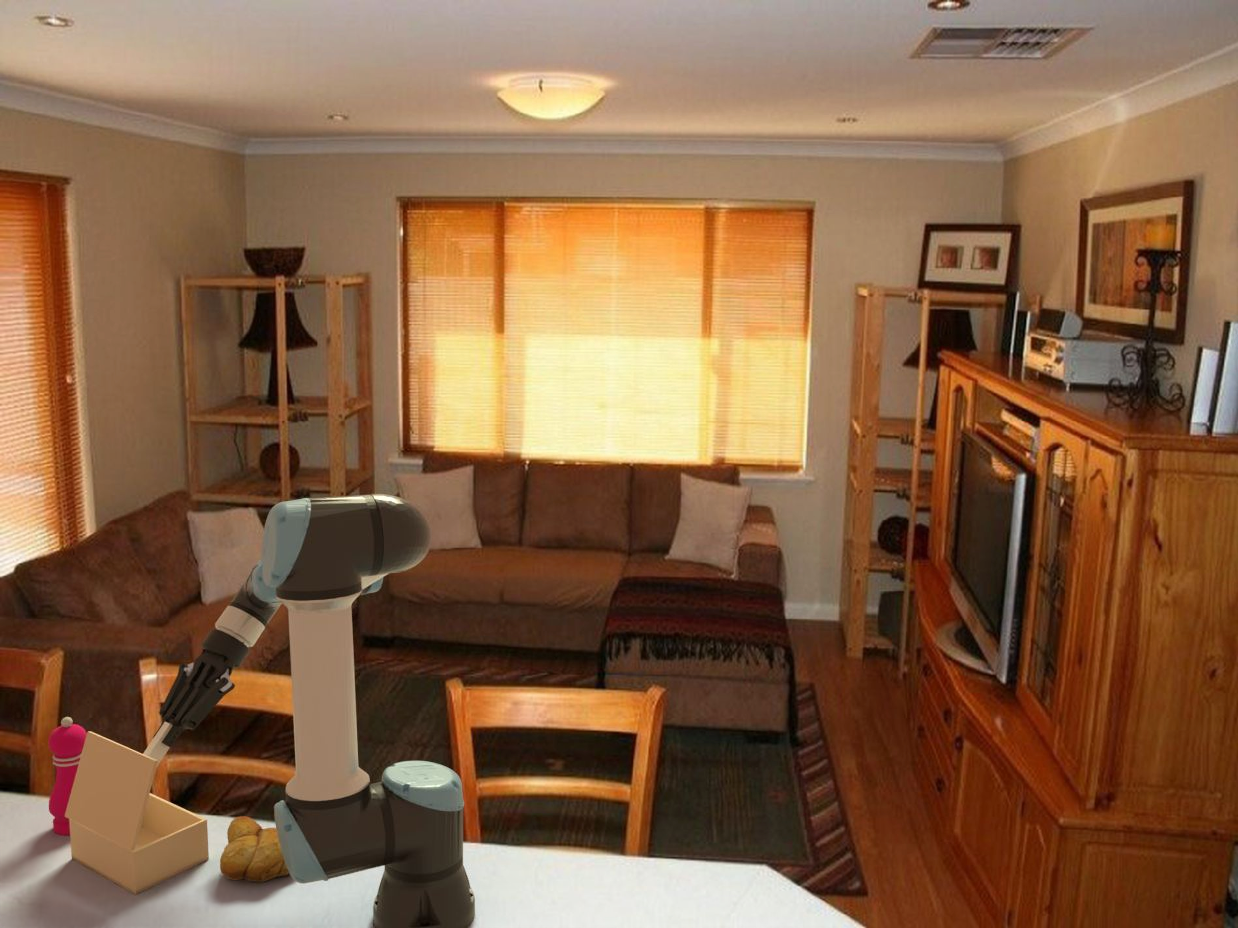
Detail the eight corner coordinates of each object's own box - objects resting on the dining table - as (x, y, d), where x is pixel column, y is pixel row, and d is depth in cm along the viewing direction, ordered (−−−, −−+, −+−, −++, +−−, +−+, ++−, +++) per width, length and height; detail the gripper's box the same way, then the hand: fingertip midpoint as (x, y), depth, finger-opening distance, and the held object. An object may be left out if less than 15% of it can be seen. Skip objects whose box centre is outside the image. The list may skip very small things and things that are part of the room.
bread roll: (311, 860, 179) (310, 815, 177) (286, 892, 169) (284, 845, 168) (237, 853, 180) (235, 809, 179) (208, 885, 171) (206, 838, 170)
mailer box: (208, 858, 178) (207, 819, 177) (135, 894, 168) (133, 852, 167) (144, 827, 188) (142, 789, 187) (71, 858, 178) (69, 818, 176)
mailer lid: (159, 760, 168) (154, 760, 168) (135, 850, 166) (130, 850, 166) (91, 731, 178) (87, 731, 178) (68, 815, 177) (64, 816, 176)
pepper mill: (105, 818, 191) (99, 711, 188) (78, 838, 184) (71, 727, 181) (69, 814, 192) (61, 707, 189) (40, 834, 185) (32, 723, 182)
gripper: (269, 656, 188) (187, 781, 177) (223, 641, 195) (142, 760, 185) (242, 635, 183) (156, 762, 172) (195, 620, 190) (110, 741, 179)
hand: (149, 761), depth 178 cm, fingers closed
